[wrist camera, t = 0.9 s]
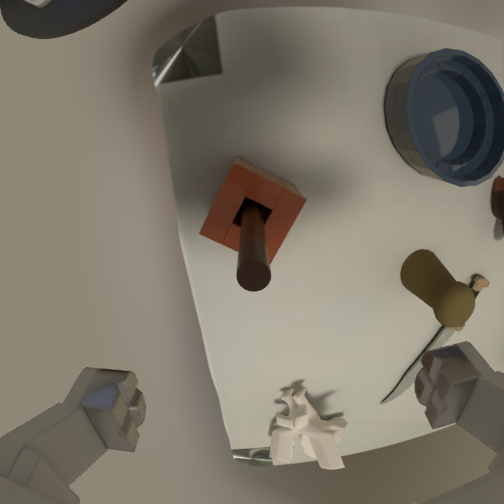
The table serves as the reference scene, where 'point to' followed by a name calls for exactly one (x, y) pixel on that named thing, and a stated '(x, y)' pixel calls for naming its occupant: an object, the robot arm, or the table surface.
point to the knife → (434, 345)
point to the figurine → (306, 433)
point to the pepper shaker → (438, 288)
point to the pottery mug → (499, 199)
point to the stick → (252, 249)
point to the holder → (261, 191)
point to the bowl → (447, 117)
